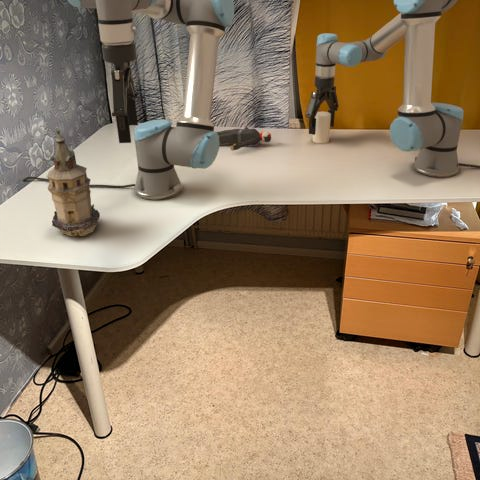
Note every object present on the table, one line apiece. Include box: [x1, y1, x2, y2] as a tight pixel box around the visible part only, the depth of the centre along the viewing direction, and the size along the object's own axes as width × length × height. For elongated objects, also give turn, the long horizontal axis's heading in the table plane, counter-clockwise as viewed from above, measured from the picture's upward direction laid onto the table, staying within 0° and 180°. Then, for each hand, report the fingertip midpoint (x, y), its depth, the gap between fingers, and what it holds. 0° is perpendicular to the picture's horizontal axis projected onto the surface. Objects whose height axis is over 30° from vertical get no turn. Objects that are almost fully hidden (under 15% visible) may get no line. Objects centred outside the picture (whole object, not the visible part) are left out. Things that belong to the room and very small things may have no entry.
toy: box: [215, 126, 272, 152], centre depth 216 cm, size 26×6×30 cm
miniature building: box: [46, 129, 101, 237], centre depth 148 cm, size 13×14×30 cm
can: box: [312, 111, 331, 144], centre depth 217 cm, size 7×7×11 cm
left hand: (129, 133), depth 132 cm, fingers open, 13 cm apart
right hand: (321, 130), depth 218 cm, fingers open, 12 cm apart
